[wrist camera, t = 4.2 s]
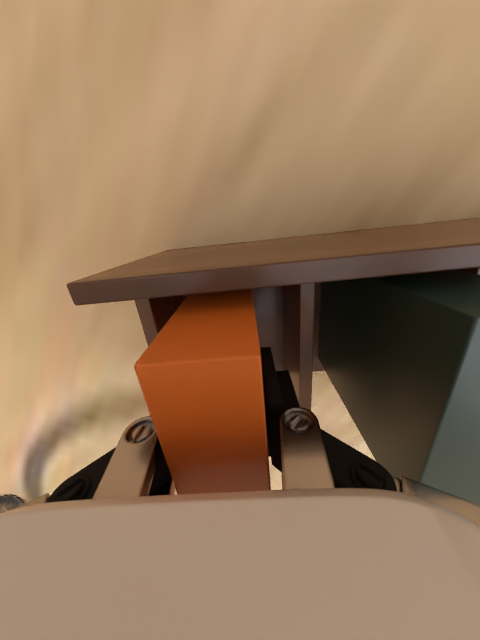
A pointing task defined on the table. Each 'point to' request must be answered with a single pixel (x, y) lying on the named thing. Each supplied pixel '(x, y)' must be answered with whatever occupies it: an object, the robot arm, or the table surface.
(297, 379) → the book rack
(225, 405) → the orange book
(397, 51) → the table surface
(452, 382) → the green book
